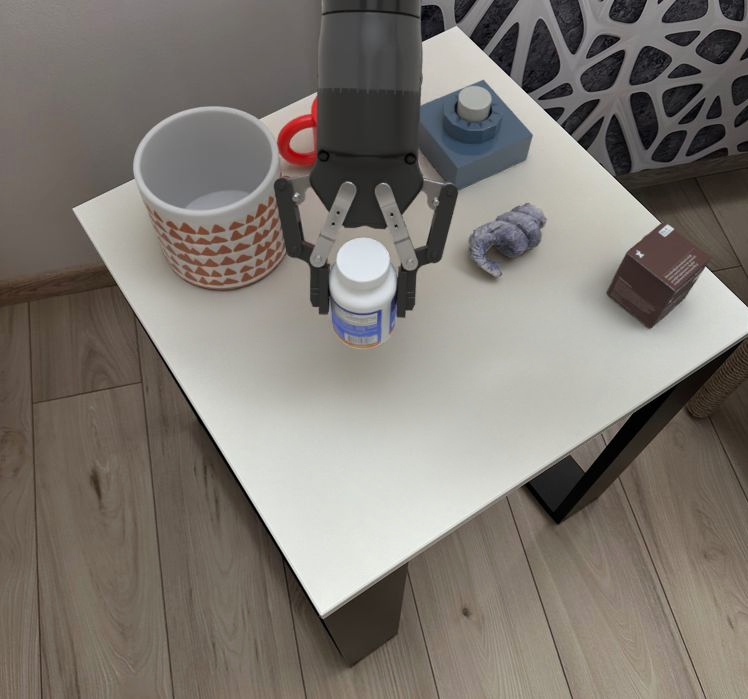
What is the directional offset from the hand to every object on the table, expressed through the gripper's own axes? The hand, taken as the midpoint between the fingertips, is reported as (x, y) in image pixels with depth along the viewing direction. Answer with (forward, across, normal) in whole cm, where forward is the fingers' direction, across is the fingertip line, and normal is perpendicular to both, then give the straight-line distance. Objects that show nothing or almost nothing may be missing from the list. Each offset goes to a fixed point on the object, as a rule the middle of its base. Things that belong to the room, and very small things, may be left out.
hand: (362, 313), depth 60 cm
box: (+2, +29, +21) cm, 36 cm away
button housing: (-12, +11, +35) cm, 38 cm away
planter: (-1, -16, +25) cm, 29 cm away
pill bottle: (+2, 0, +5) cm, 5 cm away
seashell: (-2, +15, +25) cm, 29 cm away
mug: (-9, -5, +33) cm, 34 cm away
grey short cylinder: (-16, +11, +31) cm, 36 cm away
